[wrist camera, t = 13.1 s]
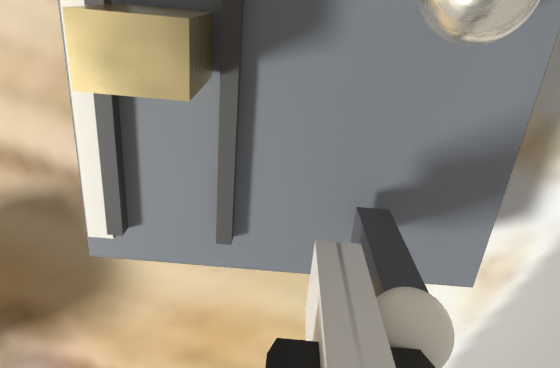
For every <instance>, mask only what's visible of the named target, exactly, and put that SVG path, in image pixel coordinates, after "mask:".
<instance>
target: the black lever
mask: <svg viewBox="0 0 560 368" xmlns="http://www.w3.org/2000/svg"><path fill="white" fill-rule="evenodd" d="M351 243H356V244H361V246H362V249H363V253H364V257H365V260H366V264H367V267H368V271H369V274H370V278H371V281H372V285H373V288H374V292H375V296H376V299H377V303H378V306H379V310H380V313H381V317H382V320H383V324H384V328H385V331H386V335H387V338H388V342H389V345H390V347H398V348H410V349H420V350H421V351H422V352H423V353H424V355H425V356H426V357H427V358H428V359H429V360H430V362H431V363H432V364H433V365H434V366H435V367H436V368H442V367H443V366H444V364H445V363H446V362H447V360H448V359H449V357H450V355H451V352H452V349H453V345H454V329H453V324H452V321H451V319H450V316H449V314H448V312H447V311H446V309H445V308H444V306H443V305H442V304H441V303H440V302H439V301H438V300H437V299H436V298H435V297H433V296H432V295H431V294H429V293H428V290H427V288H426V286H425V284H424V282H423V280H422V278H421V276H420V273H419V271H418V269H417V267H416V265H415V263H414V261H413V259H412V256H411V254H410V252H409V250H408V248H407V246H406V244H405V242H404V240H403V237H402V235H401V233H400V231H399V229H398V227H397V225H396V223H395V220H394V218H393V216H392V214H391V212H390V210H389V209H377V208H365V207H356V213H355V219H354V224H353V230H352V235H351Z"/></svg>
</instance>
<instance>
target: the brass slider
mask: <svg viewBox="0 0 560 368" xmlns="http://www.w3.org/2000/svg"><path fill="white" fill-rule="evenodd" d="M62 8H63V16H64V25H65V33H66V42H67V50H68V58H69V67H70V75H71V84H72V91H75V92H87V93H98V94H109V95H121V96H132V97H144V98H155V99H166V100H178V101H189V102H190V100H191V99H192V98H193V97H194V96H195V95H196V94H197V93H198V92H199V91H200V90H201V89H202V87H203V86H204V85H205V84H206V83H207V82H208V81H209V80H210V79H211V78H212V65H213V12H207V11H196V10H185V9H174V8H163V7H152V6H141V5H130V4H119V3H116V4H100V5H85V6H69V7H62Z"/></svg>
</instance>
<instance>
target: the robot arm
mask: <svg viewBox="0 0 560 368" xmlns="http://www.w3.org/2000/svg"><path fill="white" fill-rule="evenodd" d="M305 325H306V341H305V340H293V339H282V338H277V339H276V340H275V342H274V343H273V345H272V347H271V348H270V350H269V352H268V353H267V358H266V368H436V367H435V366H434V365H433V364H432V363H431V362H430V360H429V359H428V358H427V357H426V356H425V355H424V353H423V352H422V351H421V350H420V349H410V348H398V347H390V345H389V342H388V338H387V335H386V331H385V328H384V324H383V320H382V317H381V313H380V310H379V306H378V303H377V299H376V296H375V292H374V288H373V285H372V281H371V278H370V274H369V271H368V267H367V264H366V260H365V257H364V253H363V249H362V246H361V244H356V243H345V242H335V241H324V240H315V244H314V251H313V259H312V266H311V273H310V280H309V287H308V295H307V302H306V309H305Z"/></svg>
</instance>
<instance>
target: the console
mask: <svg viewBox="0 0 560 368" xmlns="http://www.w3.org/2000/svg"><path fill="white" fill-rule="evenodd" d="M116 3H119V4H130V5H141V6H152V7H163V8H174V9H185V10H196V11H207V12H213V65H212V78H211V79H210V80H209V81H208V82H207V83H206V84H205V85H204V86H203V87H202V89H201V90H200V91H199V92H198V93H197V94H196V95H195V96H194V97H193V98H192V99H191V100H190V102H189V101H178V100H166V99H155V98H144V97H132V96H121V95H109V94H98V93H87V92H75V91H72V84H71V75H70V67H69V58H68V50H67V42H66V33H65V25H64V16H63V8H62V7H69V6H85V5H100V4H116ZM58 4H59V12H60V20H61V28H62V36H63V45H64V53H65V61H66V69H67V77H68V86H69V94H70V102H71V110H72V118H73V126H74V135H75V143H76V151H77V159H78V167H79V176H80V184H81V192H82V200H83V208H84V216H85V225H86V233H87V241H88V249H89V256H96V257H108V258H120V259H133V260H145V261H157V262H169V263H181V264H193V265H206V266H218V267H230V268H242V269H254V270H267V271H279V272H291V273H303V274H310V273H311V266H312V259H313V251H314V244H315V240H324V241H335V242H345V243H351V235H352V230H353V224H354V219H355V213H356V207H365V208H377V209H389V210H390V212H391V214H392V216H393V218H394V220H395V223H396V225H397V227H398V229H399V231H400V233H401V235H402V237H403V240H404V242H405V244H406V246H407V248H408V250H409V252H410V254H411V256H412V259H413V261H414V263H415V265H416V267H417V269H418V271H419V273H420V276H421V278H422V280H423V282H424V283H425V284H437V285H449V286H461V287H473V285H474V282H475V279H476V276H477V273H478V270H479V267H480V264H481V261H482V258H483V255H484V252H485V249H486V246H487V243H488V240H489V237H490V235H491V232H492V229H493V226H494V223H495V220H496V217H497V214H498V211H499V208H500V205H501V202H502V199H503V196H504V193H505V190H506V187H507V184H508V181H509V178H510V175H511V172H512V169H513V166H514V163H515V160H516V157H517V154H518V151H519V148H520V145H521V142H522V139H523V136H524V133H525V130H526V127H527V124H528V121H529V118H530V115H531V112H532V109H533V106H534V104H535V101H536V98H537V95H538V92H539V89H540V86H541V83H542V80H543V77H544V74H545V71H546V68H547V65H548V62H549V59H550V56H551V53H552V50H553V47H554V44H555V41H556V38H557V35H558V32H559V29H560V0H540V1H539V3H538V5H537V7H536V8H535V10H534V11H533V13H532V14H531V15H530V16H529V18H528V19H527V20H526V21H525V22H524V23H523V24H522V25H521V26H520V27H519V28H517V29H516V30H514V31H513V32H512V33H510V34H509V35H507V36H505V37H503V38H501V39H499V40H497V41H494V42H491V43H488V44H482V45H473V46H469V45H460V44H455V43H452V42H449V41H447V40H445V39H443V38H441V37H440V36H439V35H437V34H436V33H435V32H434V31H433V30H432V29H431V28H430V27H429V26H428V24H427V23H426V21H425V20H424V18H423V16H422V13H421V11H420V7H419V2H418V0H58Z"/></svg>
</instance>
